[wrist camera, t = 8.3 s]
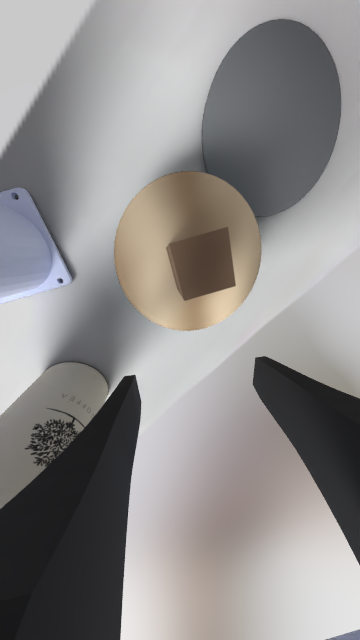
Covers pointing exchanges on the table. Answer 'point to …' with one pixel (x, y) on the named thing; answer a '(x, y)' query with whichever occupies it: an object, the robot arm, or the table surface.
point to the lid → (187, 250)
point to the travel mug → (46, 422)
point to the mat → (272, 115)
